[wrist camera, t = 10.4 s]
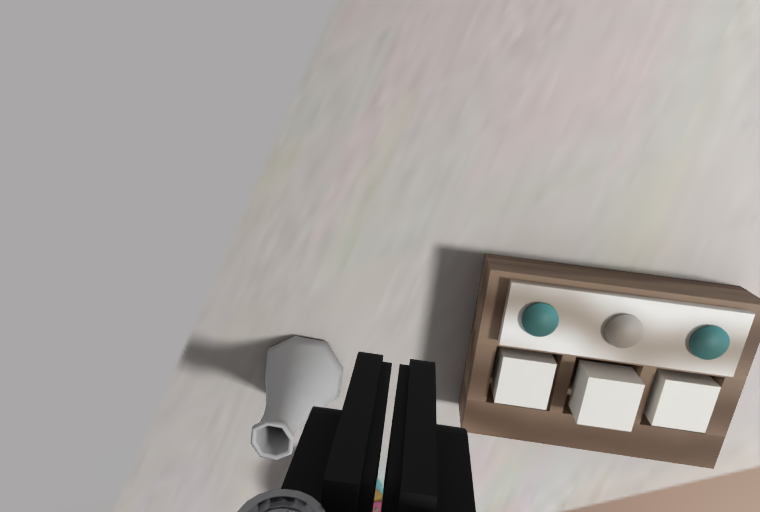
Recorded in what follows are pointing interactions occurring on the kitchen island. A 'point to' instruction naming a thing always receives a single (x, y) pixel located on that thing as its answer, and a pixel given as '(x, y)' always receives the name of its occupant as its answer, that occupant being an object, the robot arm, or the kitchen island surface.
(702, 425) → the white square block
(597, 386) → the button mid
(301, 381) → the flask
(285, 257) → the kitchen island surface
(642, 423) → the board
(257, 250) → the kitchen island surface
